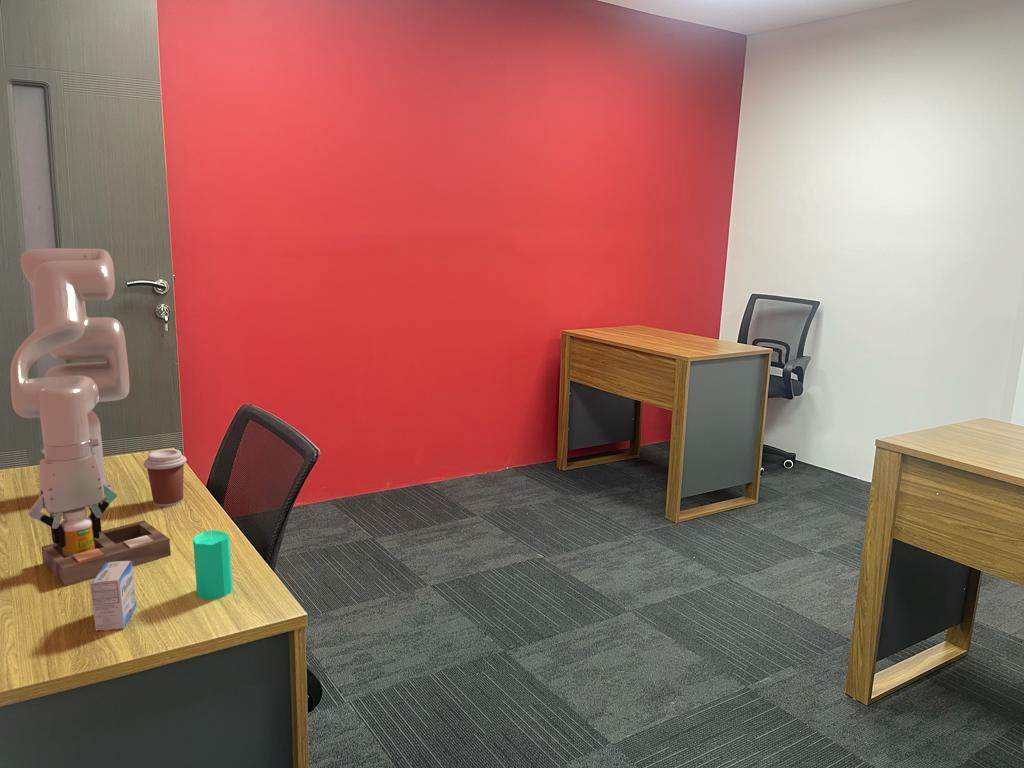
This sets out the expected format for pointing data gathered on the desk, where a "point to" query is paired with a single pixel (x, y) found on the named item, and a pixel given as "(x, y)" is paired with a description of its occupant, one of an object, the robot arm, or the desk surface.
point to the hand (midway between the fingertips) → (77, 539)
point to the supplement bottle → (77, 532)
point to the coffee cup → (166, 476)
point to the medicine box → (113, 595)
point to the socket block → (108, 552)
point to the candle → (212, 564)
